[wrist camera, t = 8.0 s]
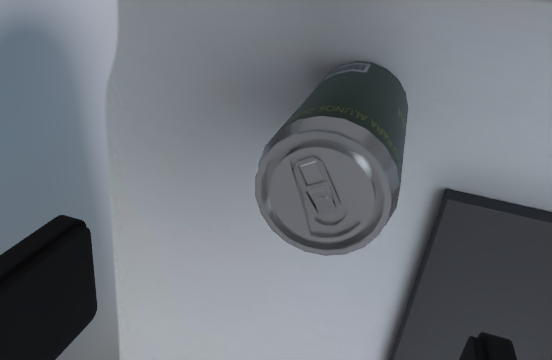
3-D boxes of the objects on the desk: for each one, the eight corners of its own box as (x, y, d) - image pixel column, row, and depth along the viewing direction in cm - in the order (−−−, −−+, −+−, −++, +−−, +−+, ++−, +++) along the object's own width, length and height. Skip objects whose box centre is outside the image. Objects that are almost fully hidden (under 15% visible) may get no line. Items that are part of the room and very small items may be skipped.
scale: (447, 184, 27) (449, 208, 24) (732, 248, 24) (771, 283, 21) (385, 369, 34) (382, 402, 31) (596, 435, 31) (612, 478, 28)
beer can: (302, 79, 26) (224, 152, 16) (390, 44, 24) (366, 101, 14) (335, 158, 28) (283, 272, 18) (420, 132, 26) (420, 244, 15)
